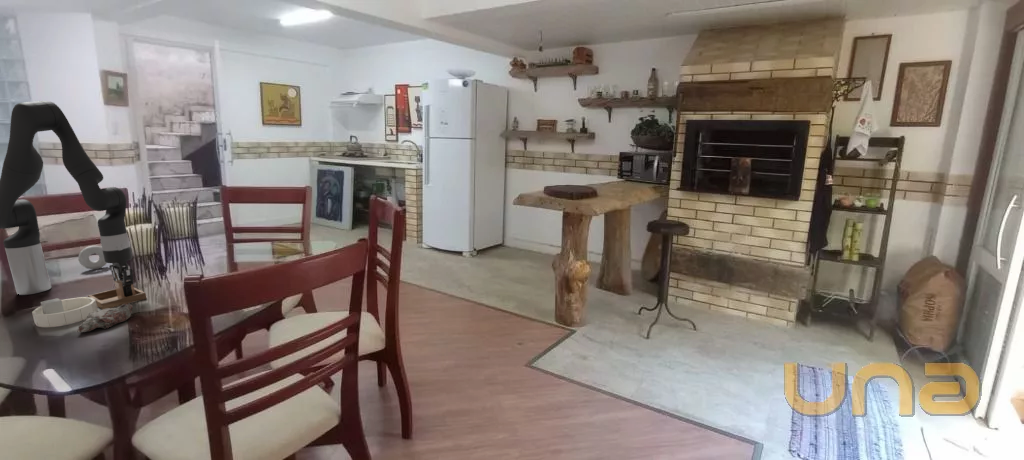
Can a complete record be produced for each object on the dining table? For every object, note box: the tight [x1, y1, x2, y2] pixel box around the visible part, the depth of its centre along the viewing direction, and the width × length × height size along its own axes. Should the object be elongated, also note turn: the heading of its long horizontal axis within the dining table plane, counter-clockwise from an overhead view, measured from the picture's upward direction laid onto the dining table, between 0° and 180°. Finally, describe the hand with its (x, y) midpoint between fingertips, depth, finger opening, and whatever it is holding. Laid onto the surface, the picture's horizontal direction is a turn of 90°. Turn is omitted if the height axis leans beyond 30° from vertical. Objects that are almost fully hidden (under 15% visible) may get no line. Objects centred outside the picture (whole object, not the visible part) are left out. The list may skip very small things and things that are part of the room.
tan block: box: [113, 280, 135, 299], centre depth 170 cm, size 4×4×6 cm
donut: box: [78, 245, 108, 270], centre depth 204 cm, size 10×4×10 cm, turn 140°
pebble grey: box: [40, 297, 64, 314], centre depth 151 cm, size 4×4×6 cm
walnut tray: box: [87, 286, 147, 310], centre depth 168 cm, size 14×12×2 cm
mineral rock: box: [76, 303, 134, 333], centre depth 148 cm, size 15×8×4 cm, turn 145°
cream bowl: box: [31, 296, 99, 328], centre depth 154 cm, size 14×14×4 cm
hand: (126, 294), depth 170 cm, fingers closed on tan block, 4 cm apart
